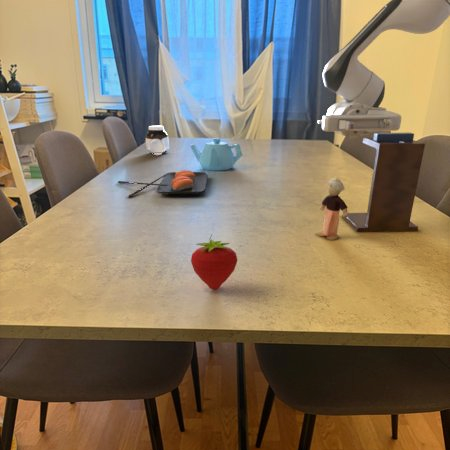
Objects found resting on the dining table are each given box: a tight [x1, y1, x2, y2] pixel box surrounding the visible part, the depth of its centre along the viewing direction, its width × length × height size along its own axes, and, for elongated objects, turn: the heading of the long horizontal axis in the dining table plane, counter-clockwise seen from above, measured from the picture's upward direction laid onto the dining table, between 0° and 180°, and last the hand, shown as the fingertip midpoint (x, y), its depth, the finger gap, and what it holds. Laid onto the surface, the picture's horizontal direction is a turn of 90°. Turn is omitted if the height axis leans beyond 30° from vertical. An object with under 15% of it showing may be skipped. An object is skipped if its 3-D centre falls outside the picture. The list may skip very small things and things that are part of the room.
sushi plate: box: [117, 169, 208, 199], centre depth 138 cm, size 29×30×4 cm
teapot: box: [189, 137, 243, 172], centre depth 165 cm, size 15×15×11 cm
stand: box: [341, 136, 426, 233], centre depth 99 cm, size 14×12×19 cm
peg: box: [373, 132, 415, 143], centre depth 97 cm, size 8×5×18 cm, turn 92°
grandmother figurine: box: [317, 178, 349, 241], centre depth 92 cm, size 8×4×13 cm, turn 44°
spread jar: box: [145, 125, 170, 156], centre depth 196 cm, size 12×11×12 cm
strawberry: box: [190, 234, 238, 291], centre depth 70 cm, size 6×8×10 cm
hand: (369, 125), depth 107 cm, fingers open, 8 cm apart
